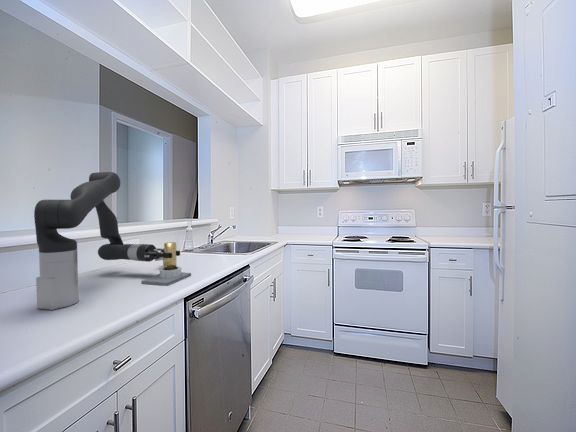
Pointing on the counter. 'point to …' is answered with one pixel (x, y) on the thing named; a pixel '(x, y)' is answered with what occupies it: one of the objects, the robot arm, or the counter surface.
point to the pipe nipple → (171, 262)
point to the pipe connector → (160, 259)
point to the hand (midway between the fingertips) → (175, 254)
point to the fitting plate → (166, 277)
